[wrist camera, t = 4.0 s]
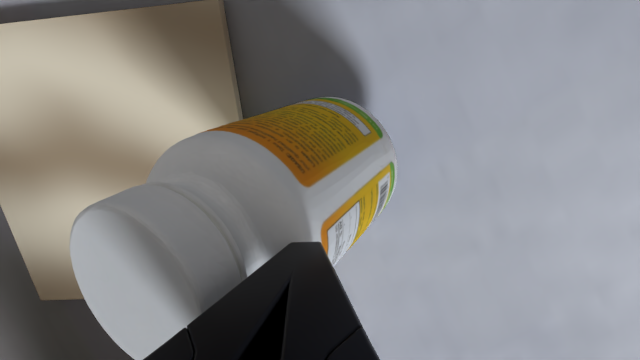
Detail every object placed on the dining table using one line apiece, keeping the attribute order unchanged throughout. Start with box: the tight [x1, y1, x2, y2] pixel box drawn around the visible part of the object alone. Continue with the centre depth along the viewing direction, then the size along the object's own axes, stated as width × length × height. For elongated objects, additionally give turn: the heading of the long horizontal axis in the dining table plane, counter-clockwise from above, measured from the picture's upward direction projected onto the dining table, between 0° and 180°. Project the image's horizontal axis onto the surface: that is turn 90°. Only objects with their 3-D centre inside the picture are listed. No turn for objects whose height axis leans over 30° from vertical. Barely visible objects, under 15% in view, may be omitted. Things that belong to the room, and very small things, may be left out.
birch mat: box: [0, 0, 243, 300], centre depth 18 cm, size 13×12×1 cm
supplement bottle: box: [69, 97, 397, 360], centre depth 12 cm, size 5×5×10 cm
